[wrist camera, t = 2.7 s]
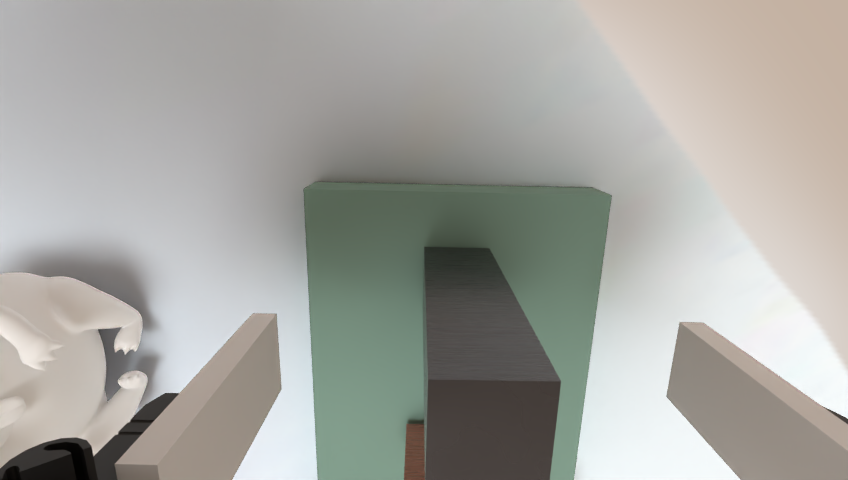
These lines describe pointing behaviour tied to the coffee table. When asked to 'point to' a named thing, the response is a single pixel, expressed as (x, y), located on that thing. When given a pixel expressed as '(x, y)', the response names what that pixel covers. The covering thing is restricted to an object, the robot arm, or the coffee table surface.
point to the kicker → (480, 377)
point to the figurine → (61, 363)
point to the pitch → (403, 303)
